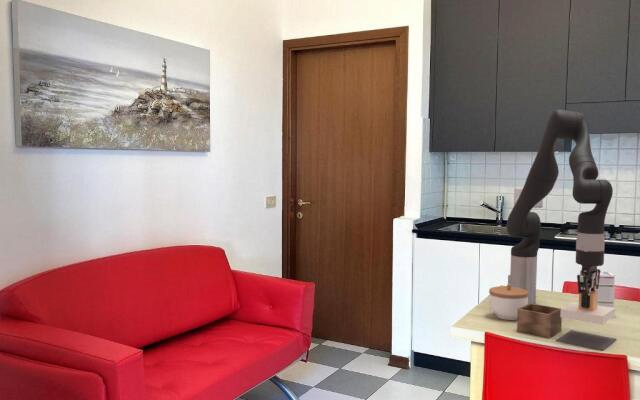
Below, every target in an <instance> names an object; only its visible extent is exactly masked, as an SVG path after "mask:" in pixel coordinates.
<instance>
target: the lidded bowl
mask: <svg viewBox="0 0 640 400" xmlns="http://www.w3.org/2000/svg"><path fill="white" fill-rule="evenodd" d="M488 292H489V295H488V296H489V297H488V298H489V305H490V308H491V310H492V312H493V314H495V315H496V318H498V319H500V320H507V321H517V309H519V308H521V307H523V306H525V305H528V296H529V292H528V291H527V290H525V289H522V288H517V287H511V285H510V284H508V283H507V284H506V286H503V285H502V286H501V285H500V286H494V287H490V288H489V290H488Z"/></svg>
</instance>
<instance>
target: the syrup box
mask: <svg viewBox="0 0 640 400" xmlns="http://www.w3.org/2000/svg"><path fill="white" fill-rule="evenodd" d="M615 278H616V277H615V275H614V274H613V273H612V272H611V271H601V272H600V279H599V286H598V289H596V291H597V292H598V302H597V305H598V306H604V307H611V308H615ZM594 282H595V281H594Z"/></svg>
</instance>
